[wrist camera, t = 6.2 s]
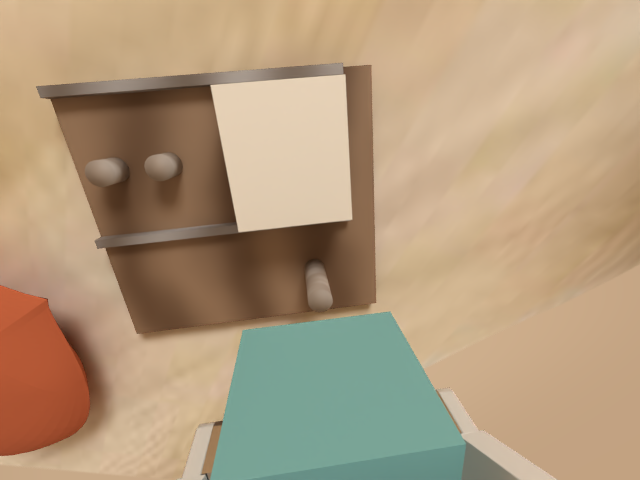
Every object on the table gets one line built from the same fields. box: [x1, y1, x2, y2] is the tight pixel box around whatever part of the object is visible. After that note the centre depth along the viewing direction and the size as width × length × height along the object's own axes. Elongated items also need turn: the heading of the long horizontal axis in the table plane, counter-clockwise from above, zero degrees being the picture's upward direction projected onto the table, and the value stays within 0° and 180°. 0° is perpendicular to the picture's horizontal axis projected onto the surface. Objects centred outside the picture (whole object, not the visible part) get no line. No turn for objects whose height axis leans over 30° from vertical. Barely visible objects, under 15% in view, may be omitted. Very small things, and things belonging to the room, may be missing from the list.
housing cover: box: [210, 74, 352, 232], centre depth 19 cm, size 7×8×4 cm
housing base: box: [36, 63, 376, 334], centre depth 20 cm, size 20×18×6 cm
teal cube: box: [210, 312, 466, 480], centre depth 9 cm, size 5×5×5 cm
